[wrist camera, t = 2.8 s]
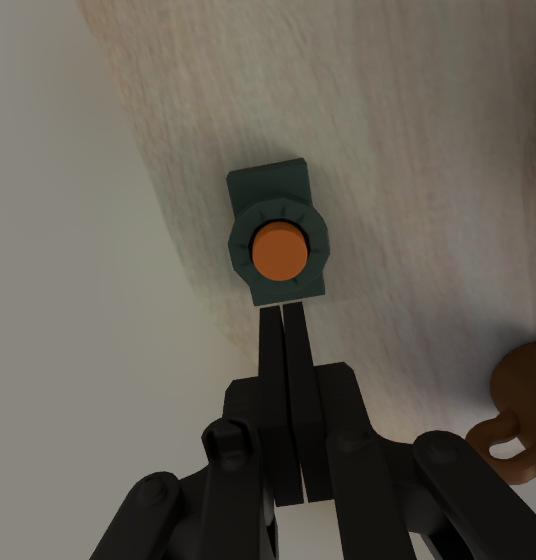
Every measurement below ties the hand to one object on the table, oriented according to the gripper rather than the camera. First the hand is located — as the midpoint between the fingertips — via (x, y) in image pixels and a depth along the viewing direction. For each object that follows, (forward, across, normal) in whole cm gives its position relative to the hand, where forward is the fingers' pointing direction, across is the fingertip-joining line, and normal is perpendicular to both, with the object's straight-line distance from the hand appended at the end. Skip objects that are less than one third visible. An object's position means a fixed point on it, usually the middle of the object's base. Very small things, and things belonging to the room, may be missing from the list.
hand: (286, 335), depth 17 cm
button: (+11, 0, 0) cm, 11 cm away
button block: (+14, 0, 0) cm, 14 cm away
